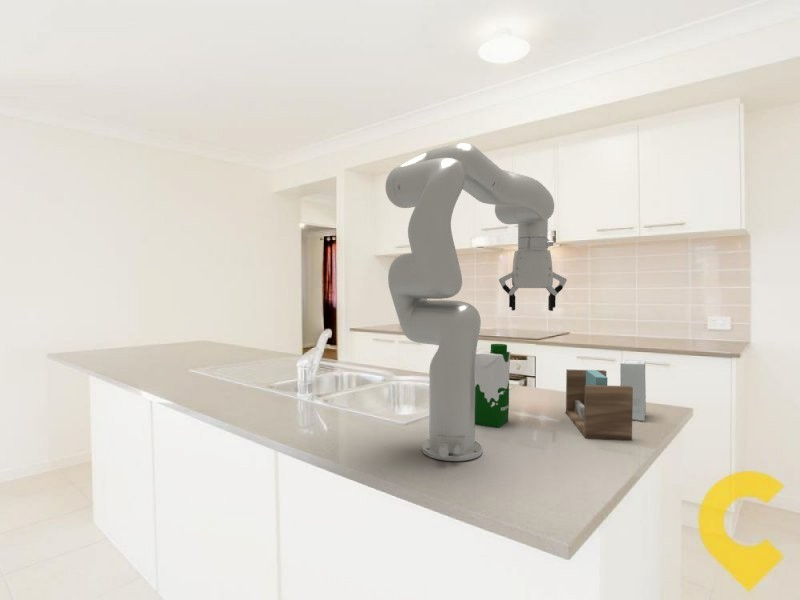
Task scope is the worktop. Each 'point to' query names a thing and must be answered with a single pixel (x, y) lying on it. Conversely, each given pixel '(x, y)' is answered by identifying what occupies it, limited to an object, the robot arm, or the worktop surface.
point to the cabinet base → (599, 407)
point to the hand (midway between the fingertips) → (531, 310)
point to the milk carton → (492, 386)
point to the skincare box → (635, 385)
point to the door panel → (595, 378)
